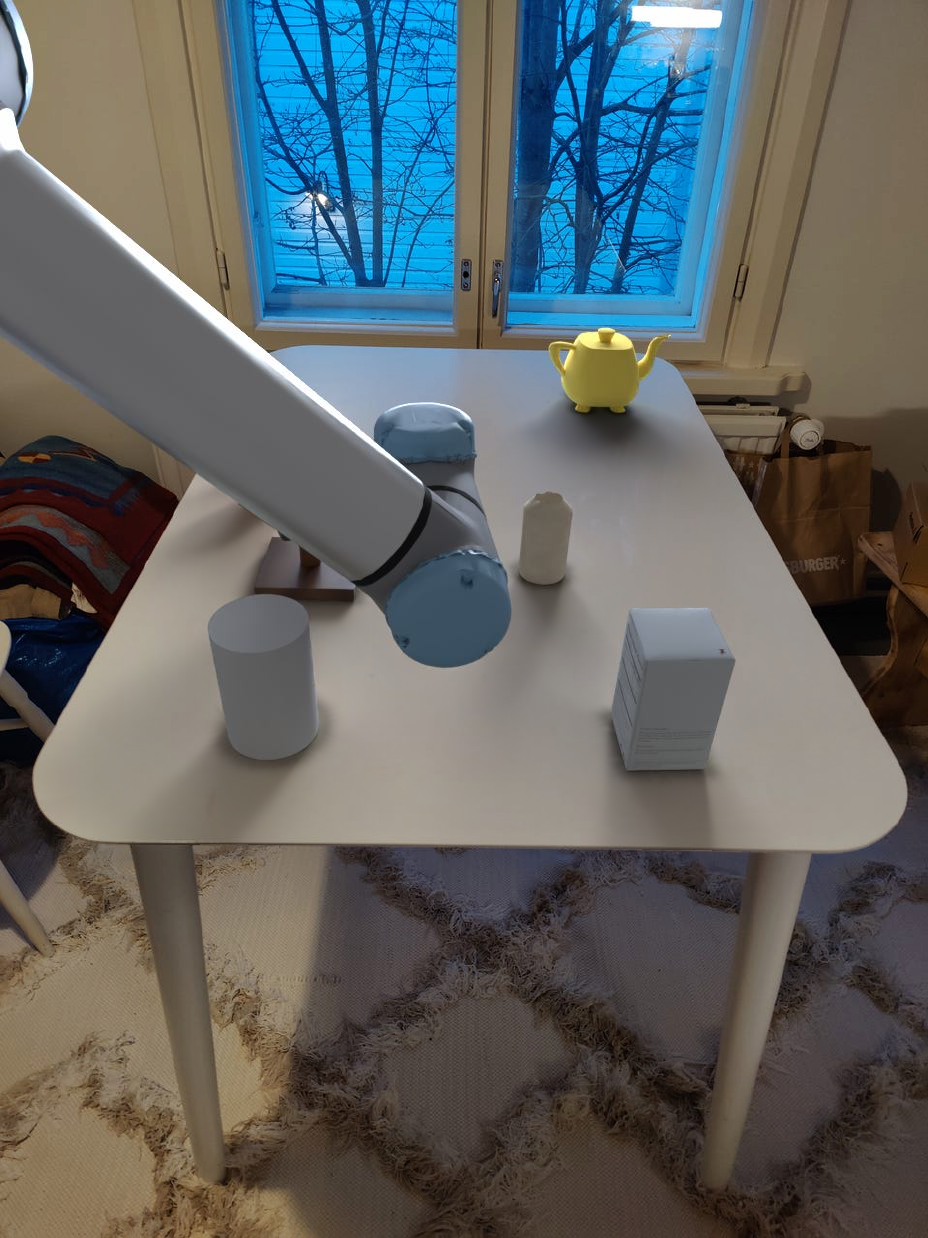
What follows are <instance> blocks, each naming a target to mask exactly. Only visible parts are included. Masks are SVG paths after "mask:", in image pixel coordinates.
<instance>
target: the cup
mask: <svg viewBox="0 0 928 1238" xmlns="http://www.w3.org/2000/svg"><path fill="white" fill-rule="evenodd" d="M207 635H208V640H209V645H210V650H211V655H212V660H213V665H214V670H215V676H216V680H217V685H218V690H219V695H220V701H221V705H222V713H223V717H224V721H225V727H226V732H227V737H228V741H229V743H230V745H231V747H232V748H233V749H234V750H235V751H236V752H237V753H239V754H240V755H242V756H244V757H246V758H249V759H253V760H258V761H275V760H281V759H285V758H288V757H289V758H290V757H291V756H294V755H296V754H298V753H300V752H301V751H303V750H305V749H306V748H307V747H308V746H309V745H310V744H311V743H312V742H313V741H314V740H315V738H316V736H317V734H318V733H319V729H320V719H319V709H318V700H317V689H316V679H315V678H316V677H315V669H314V660H313V649H312V641H311V631H310V619H309V614H308V611H307V609H306V608H305V607H304V606H303V605H302V604H301V603H300V602H299V601H297V600H296V599H291V598H288V597H285V596H280V595H273V594H259V595H255V594H251V595H245V596H241V597H238V598H236V599H234V600H231V601H229V602H226V603H225V604H224V605H222V606H220V607H219V608H218V609H217V610H216V611H214V613H213V614H212V615H211V616H210V618H209V620H208V622H207Z"/></svg>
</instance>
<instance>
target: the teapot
mask: <svg viewBox="0 0 928 1238" xmlns="http://www.w3.org/2000/svg"><path fill="white" fill-rule="evenodd" d="M671 336H672V334H669V333H668V334H661V335H658V336H656V337H654V338H653V339H652V340H651V341H650V343H649V344H648V347H647V351H646V353H645V355H644V356H643V358H642V359H641V360H639V361H638V357H637V354H636V350H635V347H634V344H633V342H632V341H631V339H630V338H628V337H627V336H626V335H624V334H621V333H618V332H616V330H615V329H613V328H610V327H601V328H598V329H597V331H587V332H581V333H579V334H578V336H577V337H576V339H575V341H574V342H573V343H572V342H566V341H553V342H551V343H550V344H549V346H548V353H549V358H550V360H551V362H552V363H553V366H555V368H556V370H557V371H558V372H559V374H560V375H561V377H560V380H561V386H562V388H563V390H564V392H565V394H566V396H567V397H568V398H569V399H570V400H571V401H572V402H573V403H575V404H576V406H575V408H574V410H575V411H577V412H579V413H588V412H590V411H591V408H592V407H596V408H597V407H598V408H610V409H609V410H610V411H612V412H613V413H617V414H618V413H625V412H626V406H629V404H631V402H632V401H633V400H634V399H635V398H636V397H637V395H638V392H639V388H640V382H642V381H644V380H645V379H646V378H647V377H648V376H649V375H650V374H651V372H652V370H653V367H654V364H655V360H656V356H657V352H658V351H659V348H660V346H661V345H662V344H663V342H664V341H666V340H668V339H669V338H671ZM562 350H569V352H568V354H567V356H566V358H565V361H564V365H563V362H562V360H561V355H560V352H561V351H562Z"/></svg>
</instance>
